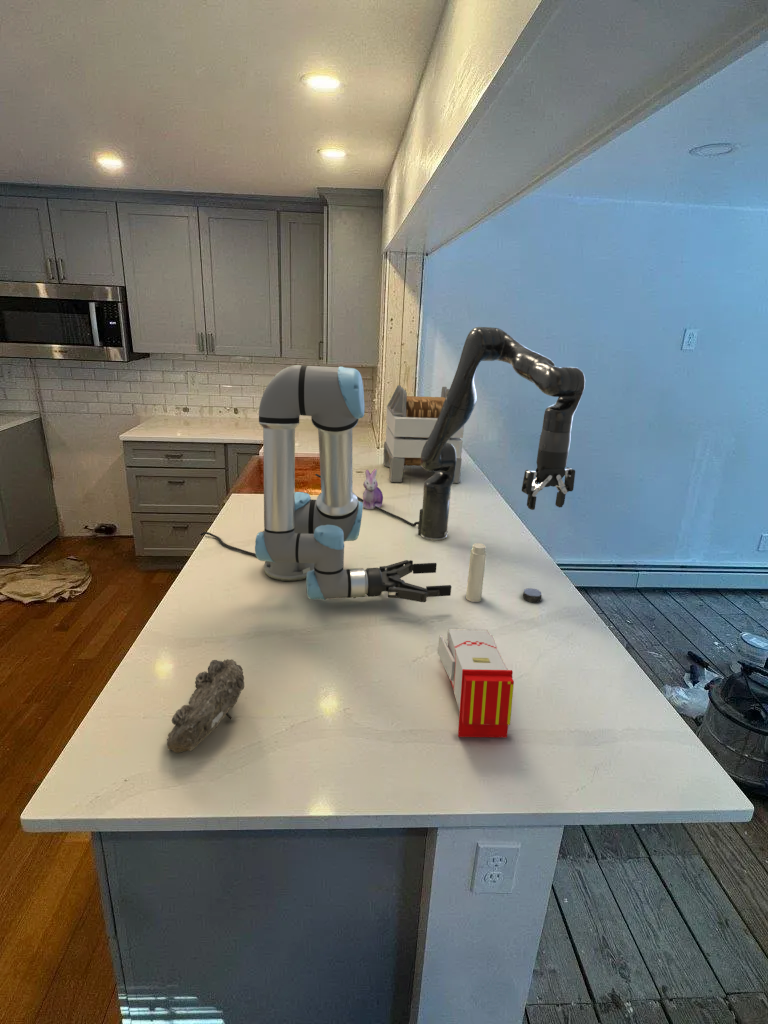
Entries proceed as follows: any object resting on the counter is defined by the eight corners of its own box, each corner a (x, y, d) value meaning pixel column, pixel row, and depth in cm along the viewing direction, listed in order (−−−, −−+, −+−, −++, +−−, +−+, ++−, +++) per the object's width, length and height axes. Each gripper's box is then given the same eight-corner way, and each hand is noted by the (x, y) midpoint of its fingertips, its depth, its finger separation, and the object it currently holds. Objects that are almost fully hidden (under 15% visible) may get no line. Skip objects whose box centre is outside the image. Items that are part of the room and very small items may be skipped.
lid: (541, 596, 160) (542, 589, 160) (540, 604, 156) (541, 597, 155) (523, 592, 162) (524, 586, 161) (521, 600, 157) (522, 594, 157)
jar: (462, 597, 158) (468, 544, 152) (473, 593, 160) (479, 541, 155) (473, 603, 155) (479, 550, 149) (484, 599, 157) (490, 546, 152)
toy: (488, 613, 130) (523, 677, 101) (484, 667, 133) (517, 744, 104) (435, 612, 130) (455, 676, 101) (432, 666, 133) (451, 743, 103)
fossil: (192, 660, 117) (244, 628, 112) (224, 691, 120) (276, 661, 115) (142, 746, 98) (202, 712, 93) (182, 779, 101) (242, 748, 96)
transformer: (382, 463, 289) (386, 382, 275) (445, 464, 293) (451, 384, 279) (390, 482, 257) (394, 392, 243) (460, 483, 261) (468, 394, 247)
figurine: (367, 511, 220) (368, 474, 215) (356, 503, 228) (357, 467, 223) (388, 508, 224) (390, 471, 219) (377, 500, 233) (378, 465, 228)
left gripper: (358, 574, 162) (429, 570, 166) (373, 619, 139) (455, 614, 143) (358, 550, 160) (431, 547, 164) (374, 592, 137) (458, 587, 141)
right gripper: (568, 443, 150) (559, 501, 155) (521, 445, 145) (513, 505, 151) (586, 450, 143) (576, 510, 149) (538, 452, 138) (529, 514, 144)
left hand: (443, 578), depth 154 cm, fingers open, 13 cm apart
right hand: (544, 507), depth 150 cm, fingers open, 8 cm apart
